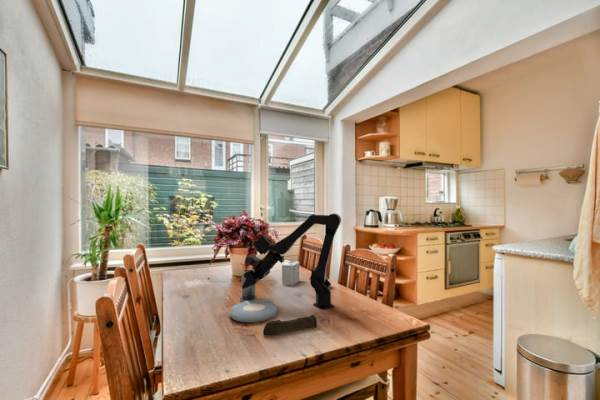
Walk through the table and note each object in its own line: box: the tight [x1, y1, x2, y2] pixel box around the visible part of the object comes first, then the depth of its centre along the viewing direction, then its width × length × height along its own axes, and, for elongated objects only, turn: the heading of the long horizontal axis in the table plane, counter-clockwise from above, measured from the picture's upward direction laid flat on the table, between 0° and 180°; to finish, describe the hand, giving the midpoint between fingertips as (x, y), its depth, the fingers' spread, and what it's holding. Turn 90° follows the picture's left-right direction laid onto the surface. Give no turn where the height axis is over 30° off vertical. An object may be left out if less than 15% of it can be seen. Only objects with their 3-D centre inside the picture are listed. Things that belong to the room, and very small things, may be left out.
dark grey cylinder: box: [239, 272, 258, 303], centre depth 127 cm, size 8×8×12 cm
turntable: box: [230, 299, 278, 323], centre depth 111 cm, size 18×18×2 cm
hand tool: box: [262, 314, 318, 337], centre depth 97 cm, size 19×4×5 cm, turn 111°
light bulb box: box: [281, 260, 301, 287], centre depth 155 cm, size 11×7×11 cm, turn 161°
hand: (245, 285), depth 127 cm, fingers closed on dark grey cylinder, 6 cm apart
